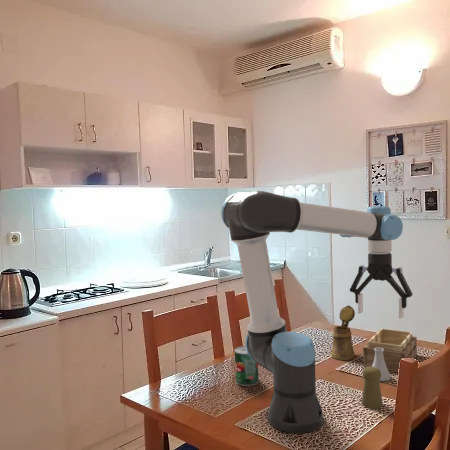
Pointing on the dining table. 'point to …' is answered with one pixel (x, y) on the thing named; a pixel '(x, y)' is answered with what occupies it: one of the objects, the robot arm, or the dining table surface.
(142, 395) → the dining table surface
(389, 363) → the wooden drawer box
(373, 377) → the cork
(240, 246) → the robot arm
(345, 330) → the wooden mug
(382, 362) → the flask
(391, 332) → the pine crate
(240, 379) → the canned tomato
